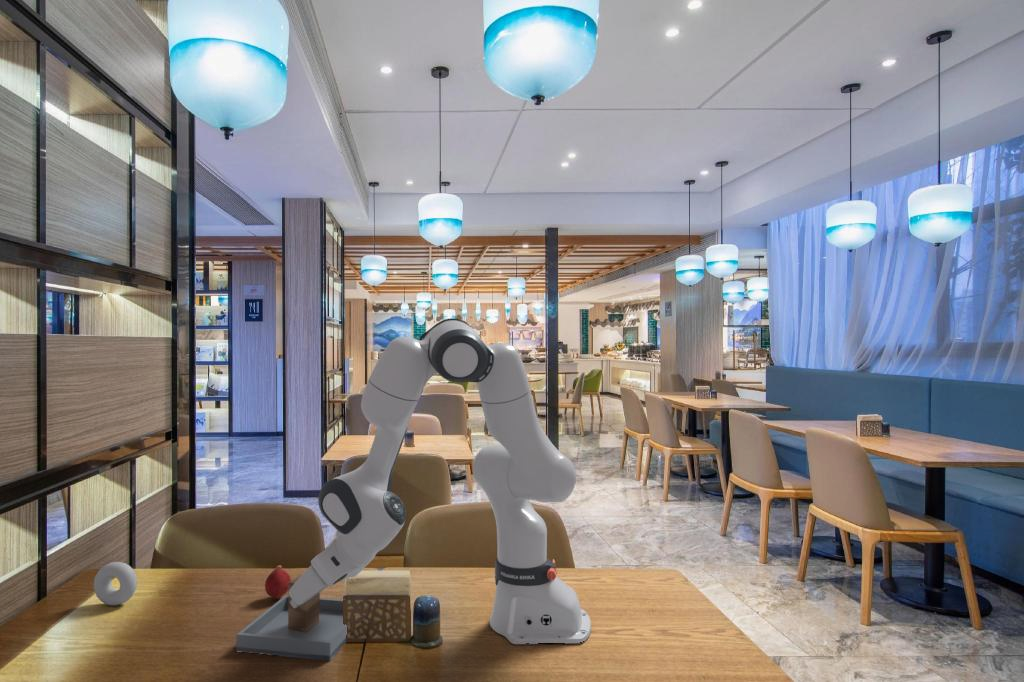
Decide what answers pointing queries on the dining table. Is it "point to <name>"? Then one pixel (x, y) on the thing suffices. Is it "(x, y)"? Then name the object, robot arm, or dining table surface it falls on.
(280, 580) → the onion
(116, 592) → the donut
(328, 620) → the tray
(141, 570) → the dining table surface
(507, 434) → the robot arm
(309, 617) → the walnut block
